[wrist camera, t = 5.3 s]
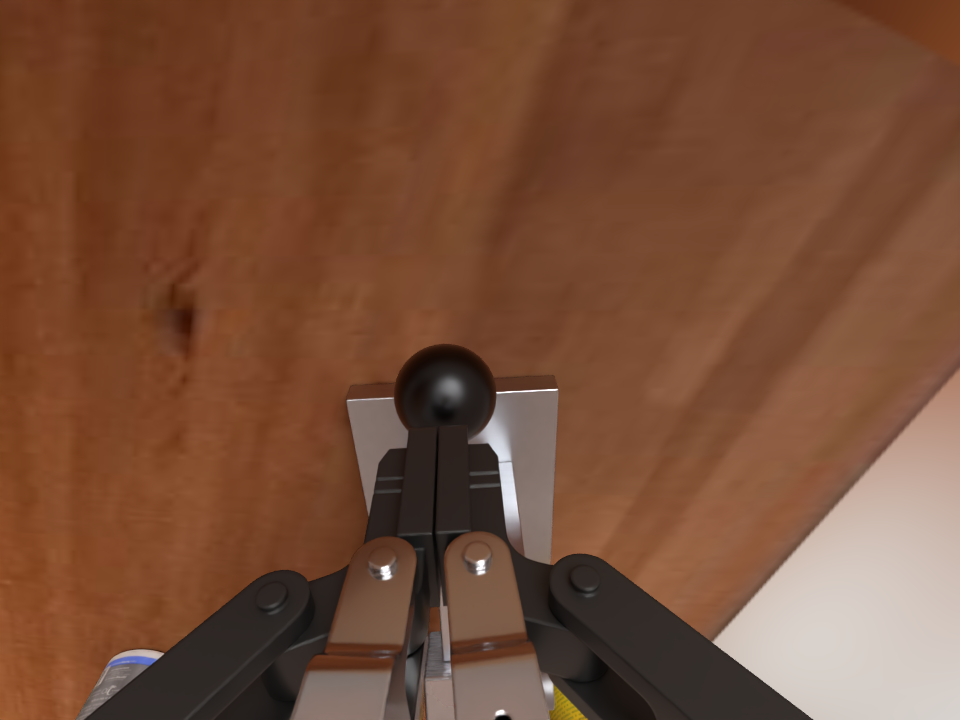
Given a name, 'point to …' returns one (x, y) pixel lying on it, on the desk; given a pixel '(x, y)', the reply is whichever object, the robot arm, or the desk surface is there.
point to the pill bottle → (118, 677)
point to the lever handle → (438, 402)
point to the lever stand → (512, 435)
